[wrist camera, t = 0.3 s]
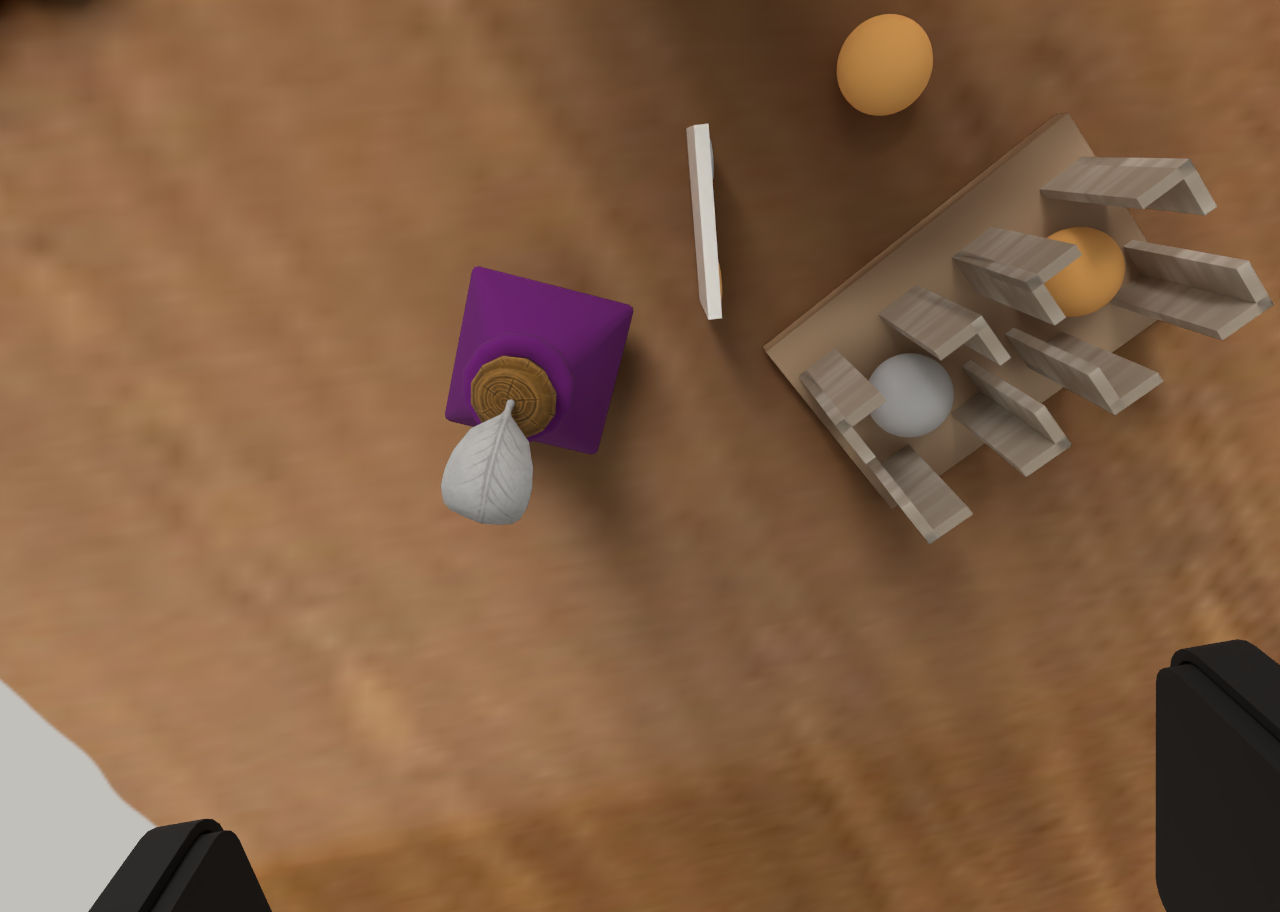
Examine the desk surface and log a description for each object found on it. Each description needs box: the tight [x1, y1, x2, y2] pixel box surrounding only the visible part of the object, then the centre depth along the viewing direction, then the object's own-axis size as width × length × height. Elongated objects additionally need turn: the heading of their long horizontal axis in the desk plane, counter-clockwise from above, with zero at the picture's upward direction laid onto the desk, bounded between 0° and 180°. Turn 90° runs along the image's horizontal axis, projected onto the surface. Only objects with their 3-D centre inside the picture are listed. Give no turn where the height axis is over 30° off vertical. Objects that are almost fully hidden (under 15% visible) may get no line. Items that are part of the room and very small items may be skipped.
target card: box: [686, 124, 722, 320], centre depth 38 cm, size 1×8×5 cm, turn 6°
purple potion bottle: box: [441, 267, 633, 525], centre depth 34 cm, size 8×8×18 cm
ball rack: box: [763, 113, 1274, 544], centre depth 38 cm, size 11×17×9 cm, turn 130°
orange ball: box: [837, 14, 933, 116], centre depth 37 cm, size 4×4×4 cm
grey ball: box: [869, 353, 954, 437], centre depth 41 cm, size 4×4×4 cm
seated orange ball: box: [1044, 227, 1125, 317], centre depth 39 cm, size 4×4×4 cm
